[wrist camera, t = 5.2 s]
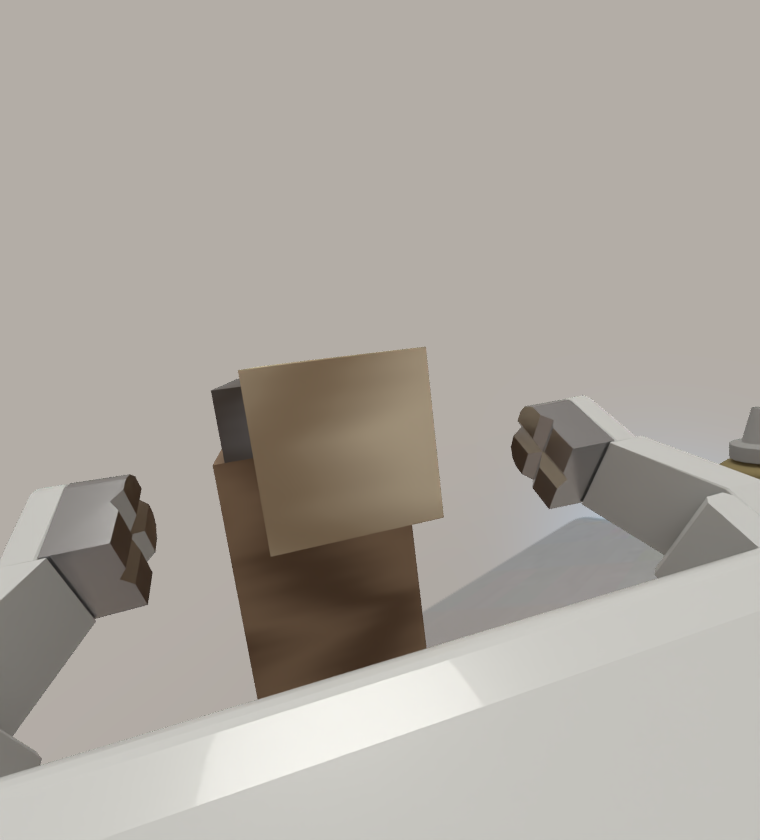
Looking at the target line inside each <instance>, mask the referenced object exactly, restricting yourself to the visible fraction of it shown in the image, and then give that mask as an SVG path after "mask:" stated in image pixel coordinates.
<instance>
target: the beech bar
mask: <svg viewBox="0 0 760 840" xmlns="http://www.w3.org/2000/svg"><path fill="white" fill-rule="evenodd" d="M427 364H428V363H427V354H426V347H419V348H410V349H402V350H393V351H384V352H376V353H367V354H359V355H351V356H343V357H333V358H324V359H317V360H308V361H300V362H292V363H284V364H276V365H268V366H260V367H254V368H249V369H243V370H238V373H239V379H240V385H241V390H242V396H243V402H244V407H245V413H246V419H247V424H248V430H249V436H250V441H251V447H252V453H253V459H254V464H255V470H256V476H257V481H258V487H259V493H260V498H261V504H262V510H263V516H264V521H265V527H266V533H267V538H268V544H269V550H270V555H271V557H272V556H276V555H281V554H285V553H290V552H294V551H298V550H303V549H307V548H312V547H316V546H320V545H325V544H329V543H334V542H338V541H343V540H347V539H351V538H356V537H360V536H365V535H369V534H373V533H378V532H382V531H387V530H391V529H395V528H400V527H404V526H409V525H413V524H418V523H422V522H426V521H431V520H435V519H440V518H443V517H444V515H443V506H442V497H441V487H440V477H439V469H438V459H437V449H436V440H435V430H434V420H433V411H432V401H431V392H430V382H429V373H428V365H427Z"/></svg>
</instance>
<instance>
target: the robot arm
mask: <svg viewBox="0 0 760 840" xmlns="http://www.w3.org/2000/svg"><path fill="white" fill-rule="evenodd" d="M518 422H519V424H520V425H521V428H520V429H519V431H518V432H517V433H516V434H515V435H514V437H513V441H512V445H511V450H512V456H513V460H514V462H515V464H516V466H517V468H518V469H519V471H520V472H521V473H522V474H523V475H525V476H527V477H529V478H531V479H533V489H534V490H535V492H536V493H537V494H538V495H539V497H540V498H541V499H542V501H543V502H544V503H545V504H546V506H547V507H548V508H549V509H552V508H557V507H561V506H567V505H571V504H576V503H581V502H583V503H582V504H583V505H584V506H586V507H587V508H589V509H591V510H592V511H594V512H595V513H597V514H599V515H600V516H602V517H604V518H605V519H607V520H608V521H610V522H612V523H613V524H615V525H616V526H618V527H620V528H621V529H623V530H625V531H626V532H628V533H629V534H631V535H633V536H634V537H636V538H638V539H639V540H641V541H642V542H644V543H646V544H647V545H649V546H650V547H652V548H654V549H655V550H657V551H659V552H660V553H662V554H663V555H665V556H664V557H663V558H662V560H661V561H660V563H659V564H658V565H657V567H656V568H655V576H656V577H657V578H658V579H654V580H651V581H648V582H644V583H641V584H638V585H635V586H631V587H628V588H625V589H621V590H618V591H615V592H611V593H608V594H605V595H601V596H598V597H595V598H591V599H588V600H585V601H582V602H578V603H575V604H572V605H568V606H565V607H562V608H558V609H555V610H552V611H548V612H545V613H542V614H539V615H535V616H532V617H529V618H525V619H522V620H519V621H515V622H512V623H509V624H505V625H502V626H499V627H496V628H492V629H489V630H486V631H482V632H479V633H476V634H472V635H469V636H466V637H462V638H459V639H456V640H453V641H449V642H446V643H443V644H439V645H436V646H433V647H429V648H426V649H423V650H419V651H416V652H413V653H410V654H406V655H403V656H400V657H396V658H393V659H390V660H386V661H383V662H380V663H377V664H373V665H370V666H367V667H363V668H360V669H357V670H353V671H350V672H347V673H344V674H340V675H337V676H334V677H330V678H327V679H324V680H320V681H317V682H314V683H311V684H307V685H304V686H301V687H297V688H294V689H291V690H287V691H284V692H281V693H278V694H274V695H271V696H268V697H264V698H261V699H258V700H254V701H251V702H248V703H245V704H241V705H238V706H235V707H231V708H229V709H225V710H222V711H218V712H215V713H212V714H208V715H205V716H202V717H199V718H195V719H192V720H188V721H185V722H182V723H179V724H175V725H172V726H169V727H165V728H162V729H159V730H156V731H152V732H149V733H146V734H142V735H139V736H136V737H132V738H129V739H126V740H123V741H119V742H116V743H113V744H109V745H106V746H103V747H99V748H96V749H93V750H89V751H86V752H83V753H79V754H77V755H73V756H70V757H66V758H63V759H60V760H56V761H53V762H50V763H47V764H43V765H40V763H41V760H42V758H41V757H40V756H39V754H38V753H37V752H36V751H34V750H33V749H31V748H30V747H28V746H26V745H25V744H23V743H22V742H20V741H18V740H17V739H15V738H14V737H12V736H13V735H14V733H15V732H16V731H17V729H18V728H19V726H20V725H21V724H22V722H23V721H24V720H25V718H26V717H27V716H28V714H29V713H30V711H31V710H32V709H33V707H34V706H35V705H36V703H37V702H38V700H39V699H40V698H41V696H42V694H43V693H44V692H45V691H46V689H47V688H48V687H49V685H50V684H51V682H52V681H53V680H54V678H55V677H56V676H57V674H58V673H59V671H60V670H61V668H62V667H63V666H64V665H65V663H66V662H67V660H68V659H69V658H70V656H71V655H72V654H73V652H74V651H75V650H76V648H77V647H78V645H79V644H80V643H81V641H82V640H83V638H84V637H85V636H86V634H87V633H88V632H89V630H90V629H91V627H92V626H93V625H94V623H95V622H96V621H95V619H96V618H100V617H104V616H107V615H111V614H115V613H119V612H123V611H126V610H130V609H134V608H137V607H142V606H145V605H148V600H149V593H150V585H151V579H152V571H151V569H150V567H149V565H148V563H147V561H148V560H149V559H150V558H151V557H152V555H153V554H154V553H155V550H156V542H157V534H156V523H155V519H154V515H153V512H152V510H151V508H150V506H149V504H147V503H145V502H142V501H141V500H139V499H140V493H141V487H140V485H139V483H138V481H137V480H136V478H135V476H132V475H123V476H116V477H109V478H103V479H96V480H89V481H83V482H76V483H70V484H69V485H60V486H54V487H47V488H41V489H37V490H36V491H34V492H33V493H32V494H31V495H30V496H29V498H28V500H27V503H26V505H25V507H24V509H23V511H22V513H21V515H20V517H19V519H18V522H17V524H16V526H15V528H14V530H13V532H12V534H11V537H10V539H9V541H8V543H7V545H6V547H5V549H4V551H3V554H2V556H1V558H0V840H760V479H757V478H754V477H752V476H749V475H746V474H744V473H741V472H738V471H736V470H733V469H730V468H727V467H725V466H722V465H719V464H717V463H714V462H711V461H708V460H706V459H703V458H700V457H698V456H695V455H692V454H690V453H687V452H684V451H682V450H679V449H676V448H673V447H671V446H668V445H665V444H663V443H660V442H657V441H655V440H652V439H649V438H646V437H644V436H639V437H636V436H635V435H633V434H632V433H631V432H630V431H629V430H628V429H626V428H625V427H624V426H623V425H622V424H621V423H619V422H618V421H617V420H616V419H615V418H613V417H612V416H611V415H610V414H609V413H607V412H606V411H605V410H604V409H603V408H602V407H600V406H599V405H598V404H597V403H596V402H595V401H593V400H592V399H591V398H589V397H586V396H583V395H582V396H577V397H572V398H567V399H563V400H558V401H552V402H547V403H541V404H536V405H530V406H525V407H524V408H523V409H522V411H521V412H520V415H519V418H518Z"/></svg>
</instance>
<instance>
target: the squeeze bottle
mask: <svg viewBox="0 0 760 840" xmlns="http://www.w3.org/2000/svg"><path fill="white" fill-rule="evenodd" d="M729 456H730V458H731V459H727V460H726V461H724V462H722V463H721V464H719V465H722V466H725V467H727V468H730V469H733V470H736V471H738V472H741V473H744V474H746V475H749V476H752V477H754V478H757V479H760V407H752V408H751V412H750V415H749V418H748V421H747V425H746V428H745V431H744V435H743V438H742V439H737V440H733V441H731V442H730V443H729Z"/></svg>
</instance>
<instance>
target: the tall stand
mask: <svg viewBox="0 0 760 840" xmlns="http://www.w3.org/2000/svg"><path fill="white" fill-rule="evenodd" d="M211 393H212V398H213V404H214V409H215V414H216V419H217V425H218V430H219V436H220V441H221V446H222V450H221V451H220V453H219V455H218V457H217V459H216V460H215V462H214V464H213V469H214V474H215V479H216V484H217V490H218V495H219V500H220V505H221V511H222V516H223V521H224V526H225V531H226V537H227V542H228V547H229V552H230V557H231V563H232V568H233V573H234V578H235V583H236V589H237V594H238V599H239V604H240V609H241V615H242V619H243V625H244V631H245V636H246V641H247V646H248V651H249V656H250V662H251V667H252V672H253V677H254V683H255V688H256V693H257V698H258V699H261V698H264V697H268V696H271V695H274V694H278V693H281V692H284V691H287V690H291V689H294V688H297V687H301V686H304V685H307V684H311V683H314V682H317V681H320V680H324V679H327V678H330V677H334V676H337V675H340V674H344V673H347V672H350V671H353V670H357V669H360V668H363V667H367V666H370V665H373V664H377V663H380V662H383V661H386V660H390V659H393V658H396V657H400V656H403V655H406V654H410V653H413V652H416V651H419V650H423V649H426V640H425V632H424V623H423V615H422V606H421V598H420V589H419V582H418V573H417V564H416V555H415V548H414V538H413V531H412V525H409V526H404V527H400V528H395V529H391V530H387V531H382V532H378V533H373V534H369V535H365V536H360V537H356V538H351V539H347V540H343V541H338V542H334V543H329V544H325V545H320V546H316V547H312V548H307V549H303V550H298V551H294V552H290V553H285V554H281V555H276V556H272V557H271V555H270V550H269V544H268V538H267V533H266V527H265V521H264V516H263V510H262V504H261V498H260V493H259V487H258V481H257V476H256V470H255V464H254V459H253V453H252V447H251V441H250V436H249V430H248V424H247V419H246V413H245V407H244V402H243V396H242V390H241V385H240V379H236V380H234V381H232V382H229V383H227V384H225V385H223V386H220V387H218V388H216V389H214V390H212V391H211Z"/></svg>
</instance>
